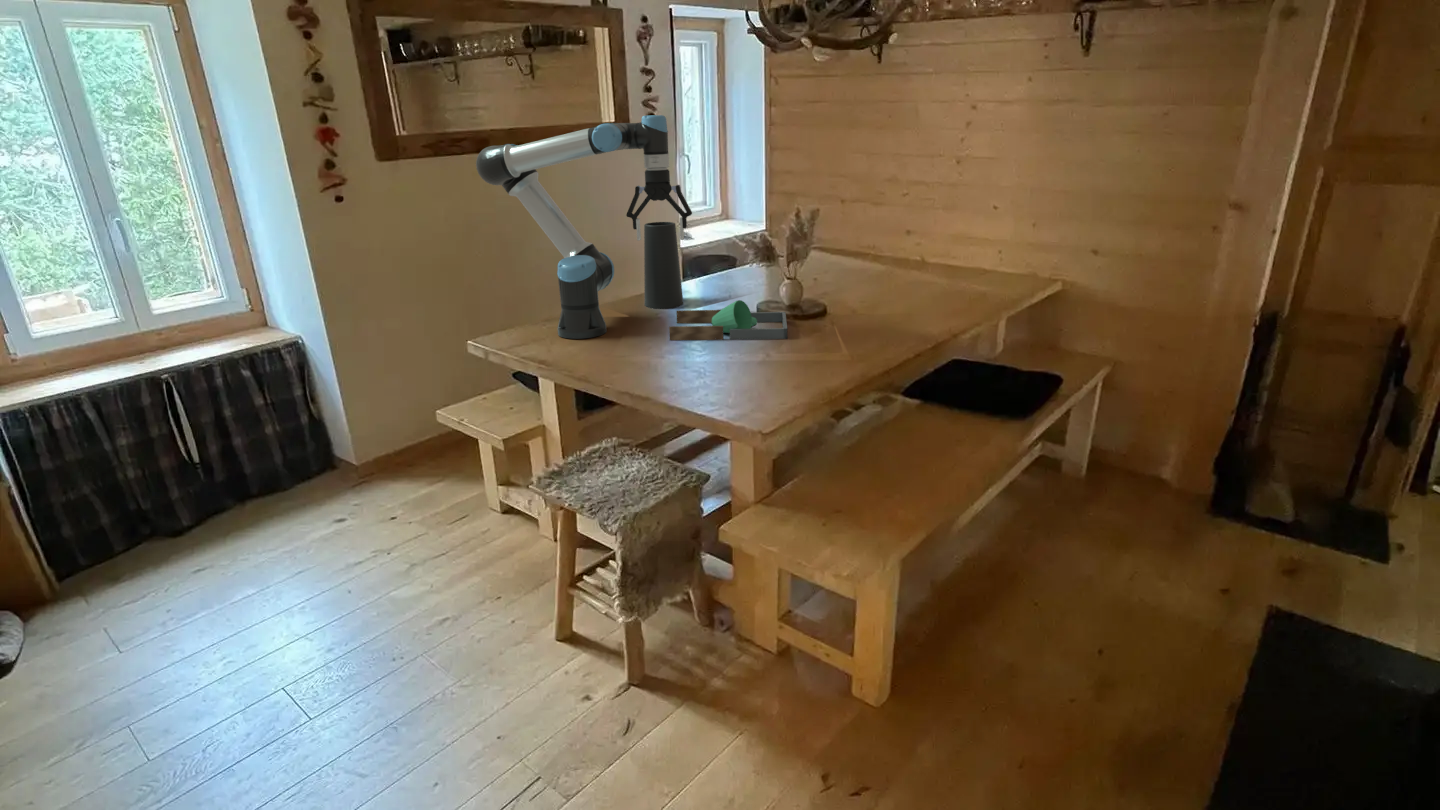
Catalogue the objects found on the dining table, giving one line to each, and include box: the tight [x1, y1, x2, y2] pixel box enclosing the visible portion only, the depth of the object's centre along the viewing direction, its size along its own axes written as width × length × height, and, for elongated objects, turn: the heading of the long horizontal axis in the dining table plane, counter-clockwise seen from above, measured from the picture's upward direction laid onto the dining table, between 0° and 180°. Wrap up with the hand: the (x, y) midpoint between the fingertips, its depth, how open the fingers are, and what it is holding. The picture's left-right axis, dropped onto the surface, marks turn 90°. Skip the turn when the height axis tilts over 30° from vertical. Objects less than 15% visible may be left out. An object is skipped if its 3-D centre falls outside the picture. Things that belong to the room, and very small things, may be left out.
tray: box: [729, 311, 788, 341], centre depth 245 cm, size 17×22×3 cm
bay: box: [668, 309, 724, 341], centre depth 246 cm, size 16×22×4 cm
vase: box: [643, 221, 684, 310], centre depth 275 cm, size 14×14×29 cm
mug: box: [711, 299, 758, 334], centre depth 243 cm, size 15×10×10 cm
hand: (660, 239), depth 249 cm, fingers open, 13 cm apart
